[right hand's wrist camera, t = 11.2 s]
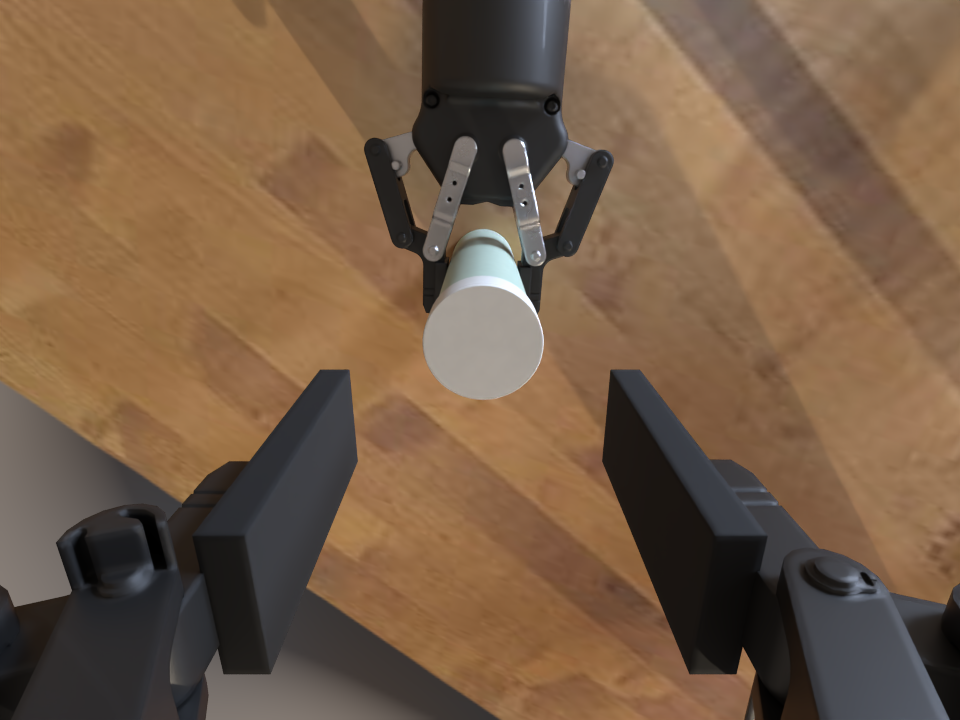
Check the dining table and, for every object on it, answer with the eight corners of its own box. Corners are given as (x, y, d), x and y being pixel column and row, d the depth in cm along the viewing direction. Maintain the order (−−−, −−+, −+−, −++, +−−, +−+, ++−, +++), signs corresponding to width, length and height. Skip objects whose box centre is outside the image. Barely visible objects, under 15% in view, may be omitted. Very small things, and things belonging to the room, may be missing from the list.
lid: (408, 351, 22) (402, 367, 20) (459, 254, 21) (458, 262, 19) (503, 400, 23) (505, 419, 21) (560, 309, 21) (566, 321, 20)
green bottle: (442, 271, 38) (408, 361, 21) (470, 217, 37) (460, 265, 19) (494, 299, 39) (503, 409, 21) (523, 247, 37) (559, 320, 20)
